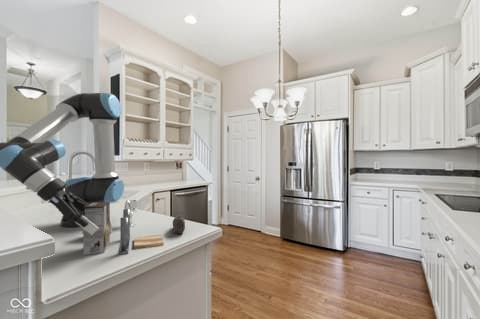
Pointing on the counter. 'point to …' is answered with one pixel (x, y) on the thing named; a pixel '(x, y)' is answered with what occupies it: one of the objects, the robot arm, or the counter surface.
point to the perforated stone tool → (178, 224)
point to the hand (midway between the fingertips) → (99, 226)
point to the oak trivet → (148, 241)
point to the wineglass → (131, 209)
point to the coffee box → (101, 218)
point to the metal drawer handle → (125, 232)
